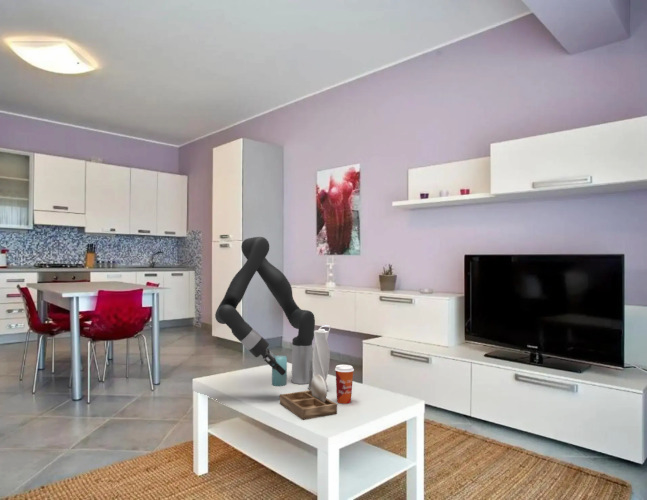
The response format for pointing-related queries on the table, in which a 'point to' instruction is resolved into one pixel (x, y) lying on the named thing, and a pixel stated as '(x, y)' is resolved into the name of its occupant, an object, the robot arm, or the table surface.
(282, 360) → the teal dome-topped cylinder
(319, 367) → the skyscraper
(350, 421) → the table surface
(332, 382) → the table surface
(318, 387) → the tray
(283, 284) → the robot arm
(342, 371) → the paper cup
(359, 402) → the table surface
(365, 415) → the table surface
